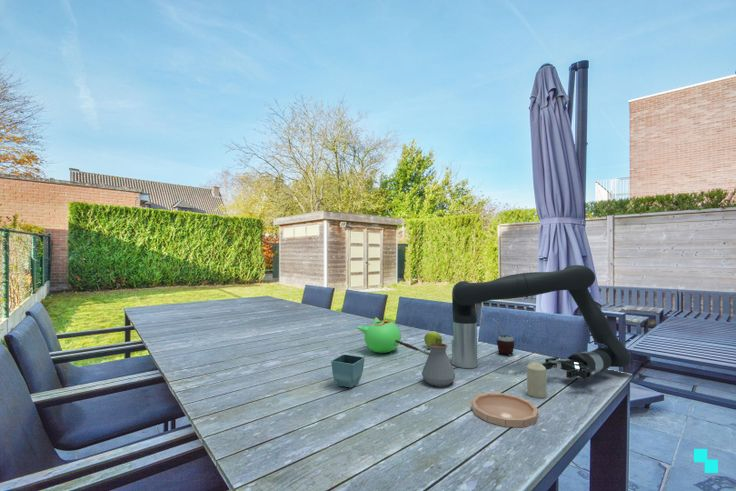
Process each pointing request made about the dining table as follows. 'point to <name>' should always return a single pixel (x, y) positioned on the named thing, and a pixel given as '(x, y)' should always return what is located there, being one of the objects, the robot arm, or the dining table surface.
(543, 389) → the candle
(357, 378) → the flower pot
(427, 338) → the apple
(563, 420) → the dining table surface
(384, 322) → the green teapot
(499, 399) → the saucer
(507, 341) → the mate gourd
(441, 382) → the coffee pot
